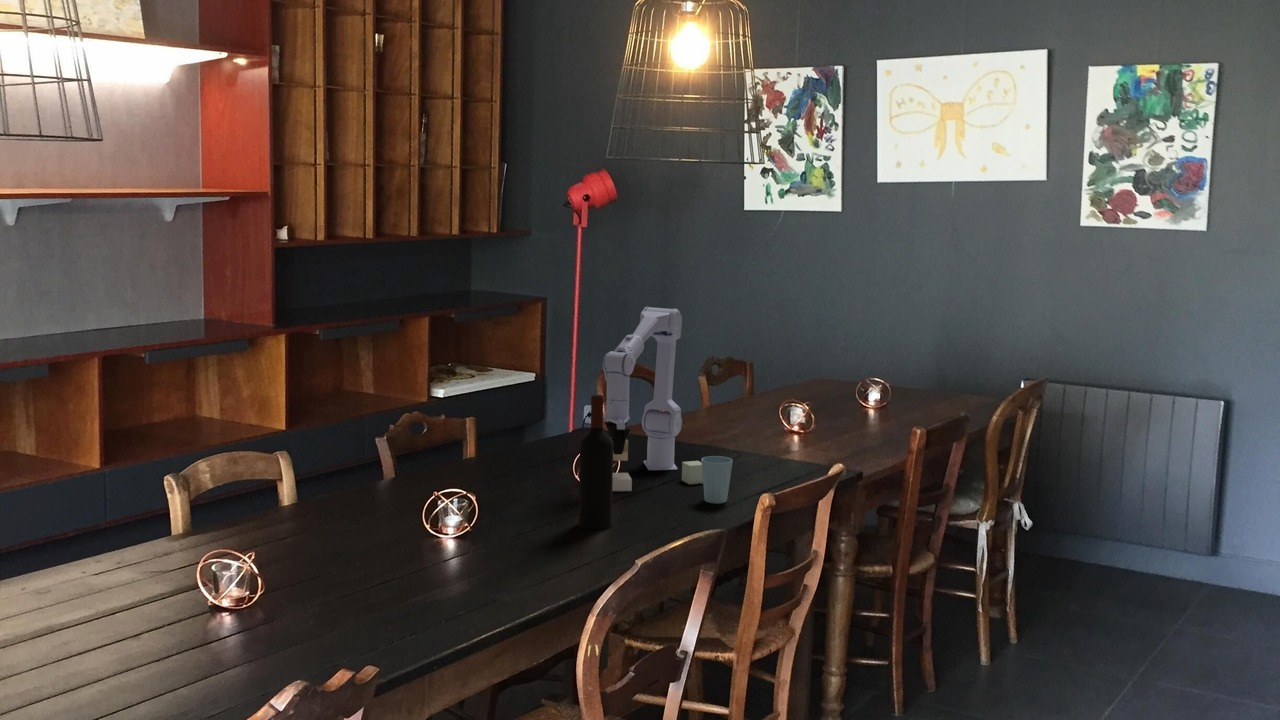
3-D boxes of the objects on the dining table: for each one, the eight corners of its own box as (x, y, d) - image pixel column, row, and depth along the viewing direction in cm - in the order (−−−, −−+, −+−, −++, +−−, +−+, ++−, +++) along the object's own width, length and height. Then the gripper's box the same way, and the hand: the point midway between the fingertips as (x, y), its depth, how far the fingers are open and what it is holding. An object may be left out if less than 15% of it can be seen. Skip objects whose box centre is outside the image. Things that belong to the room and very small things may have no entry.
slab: (600, 484, 317) (601, 473, 317) (627, 484, 318) (628, 472, 318) (604, 491, 310) (604, 479, 310) (631, 490, 311) (631, 479, 311)
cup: (737, 502, 303) (739, 460, 301) (713, 506, 299) (714, 464, 297) (718, 495, 309) (719, 454, 307) (694, 499, 305) (695, 458, 303)
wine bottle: (572, 526, 279) (574, 396, 274) (589, 518, 286) (591, 391, 281) (601, 531, 275) (603, 399, 271) (617, 523, 282) (620, 394, 278)
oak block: (607, 456, 315) (608, 437, 314) (625, 456, 316) (625, 437, 315) (610, 460, 310) (610, 441, 310) (627, 460, 311) (628, 441, 310)
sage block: (681, 480, 323) (682, 462, 322) (697, 479, 325) (697, 460, 324) (689, 484, 319) (689, 465, 318) (704, 483, 321) (705, 464, 320)
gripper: (598, 393, 317) (597, 445, 319) (605, 404, 303) (604, 458, 305) (625, 393, 318) (624, 445, 320) (633, 404, 304) (632, 458, 306)
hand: (616, 451), depth 313 cm, fingers closed on oak block, 4 cm apart
